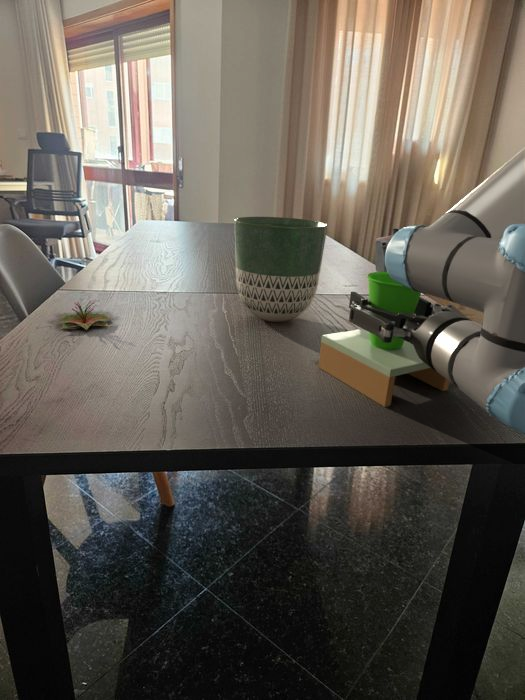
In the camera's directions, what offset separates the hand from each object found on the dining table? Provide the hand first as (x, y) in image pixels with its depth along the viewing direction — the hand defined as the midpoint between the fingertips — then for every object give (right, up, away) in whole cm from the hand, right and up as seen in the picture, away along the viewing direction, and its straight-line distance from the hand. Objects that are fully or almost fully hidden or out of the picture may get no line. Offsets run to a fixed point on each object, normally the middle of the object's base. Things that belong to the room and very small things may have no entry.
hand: (380, 299), depth 78 cm
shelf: (0, -13, 0) cm, 13 cm away
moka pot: (+12, +3, +43) cm, 45 cm away
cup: (0, -8, -2) cm, 8 cm away
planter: (-17, -1, +29) cm, 33 cm away
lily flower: (-56, -3, +18) cm, 59 cm away
